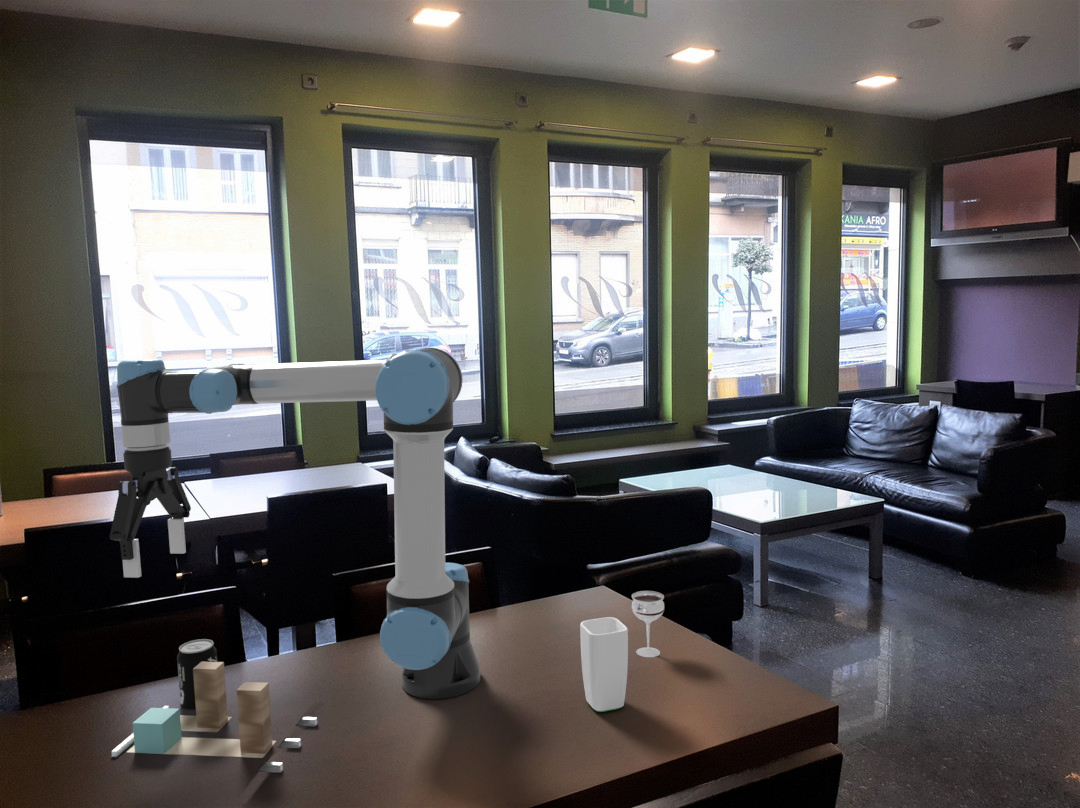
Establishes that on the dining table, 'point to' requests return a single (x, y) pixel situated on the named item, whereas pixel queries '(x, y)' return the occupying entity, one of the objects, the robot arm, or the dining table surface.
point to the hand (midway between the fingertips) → (156, 564)
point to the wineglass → (648, 615)
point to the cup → (604, 662)
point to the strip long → (251, 729)
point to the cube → (157, 730)
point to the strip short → (208, 699)
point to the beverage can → (187, 661)
